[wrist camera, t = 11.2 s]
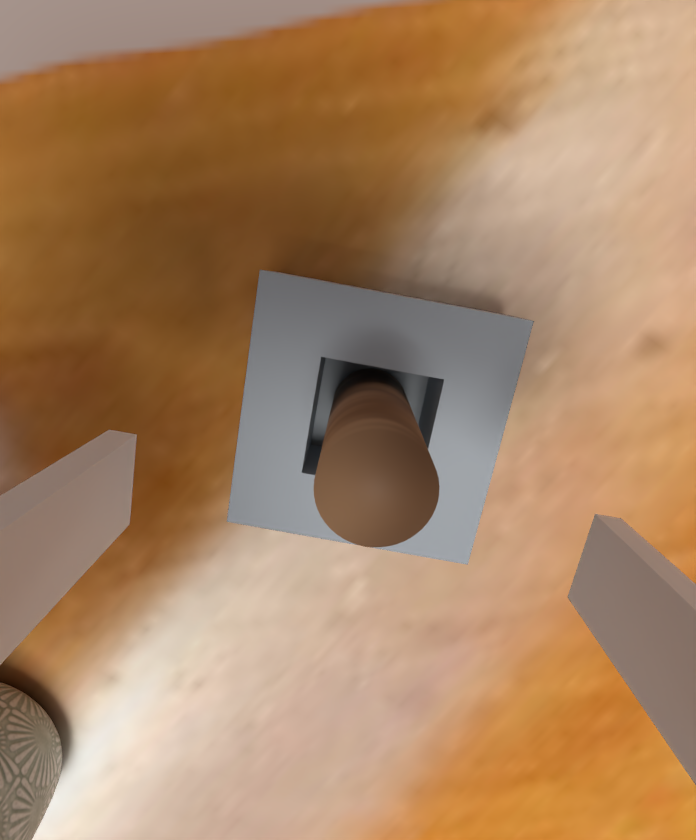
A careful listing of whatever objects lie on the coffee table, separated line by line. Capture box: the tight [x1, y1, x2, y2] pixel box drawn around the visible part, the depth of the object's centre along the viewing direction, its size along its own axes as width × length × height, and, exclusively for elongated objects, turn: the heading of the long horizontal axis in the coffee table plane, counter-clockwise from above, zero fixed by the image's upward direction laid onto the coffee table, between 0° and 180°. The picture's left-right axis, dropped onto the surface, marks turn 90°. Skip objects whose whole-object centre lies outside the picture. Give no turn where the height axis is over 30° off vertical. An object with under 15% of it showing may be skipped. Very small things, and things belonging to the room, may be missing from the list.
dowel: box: [314, 369, 440, 547], centre depth 22 cm, size 4×4×12 cm
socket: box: [227, 270, 534, 565], centre depth 26 cm, size 12×12×5 cm
